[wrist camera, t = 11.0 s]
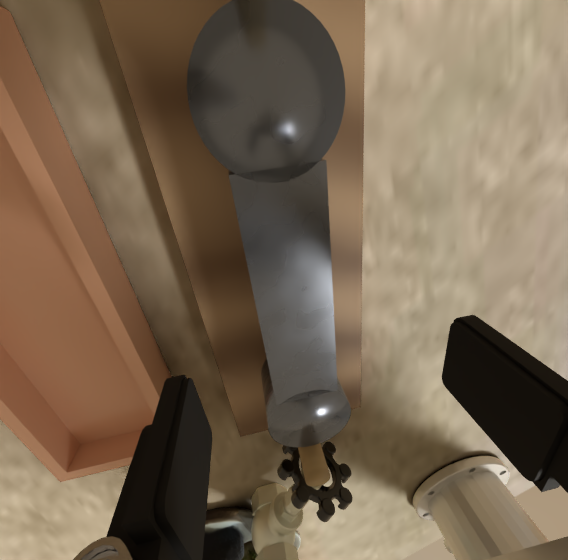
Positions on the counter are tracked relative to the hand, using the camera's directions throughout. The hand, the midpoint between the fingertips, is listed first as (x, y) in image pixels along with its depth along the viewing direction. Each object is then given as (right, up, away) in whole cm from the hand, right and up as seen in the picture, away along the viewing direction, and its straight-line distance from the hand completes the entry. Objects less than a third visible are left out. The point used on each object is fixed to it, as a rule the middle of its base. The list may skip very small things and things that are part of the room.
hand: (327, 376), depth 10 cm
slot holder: (-15, +2, +6) cm, 16 cm away
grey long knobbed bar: (-2, +4, +6) cm, 7 cm away
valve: (-2, -16, +18) cm, 24 cm away
